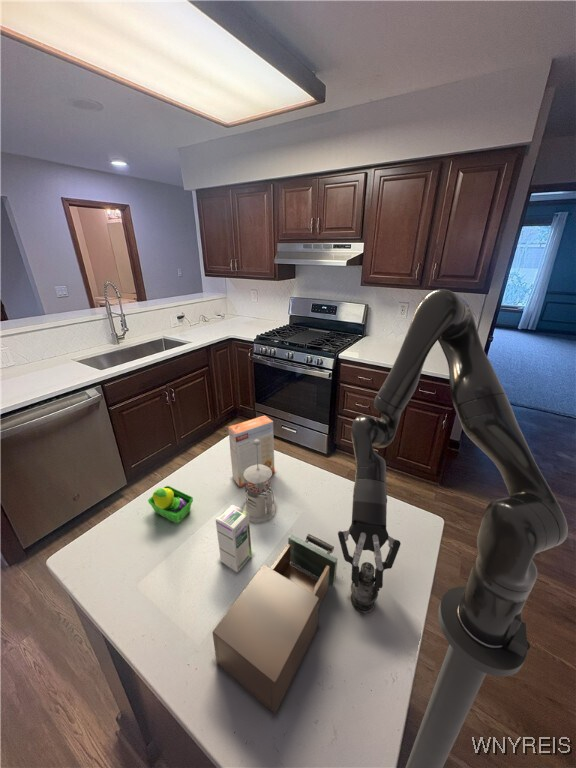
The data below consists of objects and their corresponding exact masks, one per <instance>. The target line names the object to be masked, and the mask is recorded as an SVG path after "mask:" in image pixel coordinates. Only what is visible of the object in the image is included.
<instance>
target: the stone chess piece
mask: <svg viewBox="0 0 576 768" xmlns="http://www.w3.org/2000/svg"><path fill="white" fill-rule="evenodd" d="M375 569H376V568H375V567H374V565H373V564H372V563H371V562H368V561H365V562H363V563H361V566H360V569H359V585H358V587H355V586H354V583H352V582H351V584H350V591H351V593H350V602H351V604H352V606H353V607H354V608H355V609H356V610H357V611H358V612H361V613H369V612H372V611H373V609H374V608H375V606H376V600H377V599H378V596H379V591H376V590H375Z"/></svg>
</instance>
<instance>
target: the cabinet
mask: <svg viewBox="0 0 576 768" xmlns="http://www.w3.org/2000/svg"><path fill="white" fill-rule="evenodd" d="M319 608H320V605H319V597H317V596H315V595H314V594H312V593H310V592H309V591H307V590H305V589H304V588H302V587H301V586H299V585H297V584H296V583H294V582H292V581H291V580H289V579H287V578H286V577H284V576H282V575H281V574H279V573H277V572H276V571H274V570H273V569H271V567H270V566H267V565H266V564H264V563H263V564H262V565H261V566H260V568H259V569H258V570H257V572H256V573H255V574H254V576H253V577H252V579H251V580H250V581H249V582H248V584H247V585H246V587H245V588H244V589H243V591H242V592H241V593H240V594H239V595H238V597H237V598H236V599H235V601H234V602H233V604H232V605H231V607H230V608H229V609H228V610H227V611H226V613H225V614H224V616H223V617H222V618H221V619H220V621H219V622H218V623H217V625H216V626H215V628H213V630H212V639H213V646H214V647H213V648H214V654H215V662H216V663H217V665H219V666H220V667H221V668H222V669H223V670H224V671H226V673H228V674H229V675H230V676H231V677H233V678H234V680H236V681H237V682H238V683H239V684H240V685H242V686H243V687H244V688H245V689H246V690H248V692H250V693H251V694H252V695H253V697H255V698H256V699H257V700H259V701H260V702H261V703H262V704H263V705H264V706H265V707H267V708H268V709H269V710H270V711H271V712H273V714H275V715H276V714H277V712H278V710H279V708H280V706H281V703H282V701H283V699H284V697H285V695H286V693H287V691H288V689H289V687H290V685H291V682H292V681H293V679H294V676H295V674H296V673H297V671H298V669H299V666H300V664H301V662H302V660H303V658H304V656H305V654H306V652H307V649H308V648H309V646H310V644H311V642H312V639H313V637H314V635H315V633H316V631H317V629H318V621H319Z"/></svg>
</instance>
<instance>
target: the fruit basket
mask: <svg viewBox="0 0 576 768" xmlns="http://www.w3.org/2000/svg"><path fill="white" fill-rule="evenodd" d="M193 501H194V497H193V496H191V495H189V494H186V493H185V492H182V491H180V490H178V489H176V488H174V487H173V486H171V485H170V486H169V485H166V486H164V487H161V488H157V489H155V490H154V492H153V493H152V496H150V497H149V498H148V500H147V503H148V504H149V505H150V506H151V507H152V509H153V510H154V512H155V513H156V514H157V515H160V516H162V517H163V518H166V519H167V520H168V521H172V522H173V523H175V524H179V523H180V521H182V520H183V519H184V518H185V517H186V516H187V515H188V514H190V512H191V508H192V503H193Z"/></svg>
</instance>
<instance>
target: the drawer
mask: <svg viewBox="0 0 576 768" xmlns="http://www.w3.org/2000/svg"><path fill="white" fill-rule="evenodd" d="M287 542H288V543H287V544H286V545H285V547H284V548H283V550H282V551H281V553H280V554H279V555H278V556H277V558H276V559H275V561H274V562H273V564H272V565H271V566H270V568H271V569H273V570H274V571H276V572H277V573H279V574H281V575H282V576H284V577H286V578H287V579H289V580H291V581H292V582H294V583H296V584H297V585H299V586H301V587H302V588H304V589H305V590H307V591H309V592H310V593H312V594H314V595H315V596H317V597H319V606H321V603H322V602H323V600H324V598H325V595H326V594H327V592H328V589H329V585H330V586H332V587H334V585H335V583H336V577H337V568H338V558H336V557H335V556H333V555H331V554H333V552H334V551H335V546H334V545H332V544H330V543H327V542H326V541H324V540H322V539H319V538H318V537H316V536H315V535H312V534H310V533H308V534H307V535H306V538H305V540H302V539H300V538H298V537H297V536H294V535H293V534H290V535H289V536H288V538H287ZM309 543H311V544H309ZM312 544H313V545H312ZM316 546H317V547H319V548H320V549H319V548H317V547H316ZM321 549H322V550H321ZM323 550H324V551H323ZM325 551H326V552H325ZM291 563H292V564H293V565H292V564H291ZM294 565H295V566H294ZM296 566H297V567H298V568H297V567H296ZM299 568H300V569H299ZM301 569H302V570H304V571H306V572H308V573H310V574H311V575H312V576H314V577H312V576H311V575H309V574H308V573H306V572H304V571H302V570H301ZM315 577H316V578H318V579H316V578H315Z"/></svg>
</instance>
